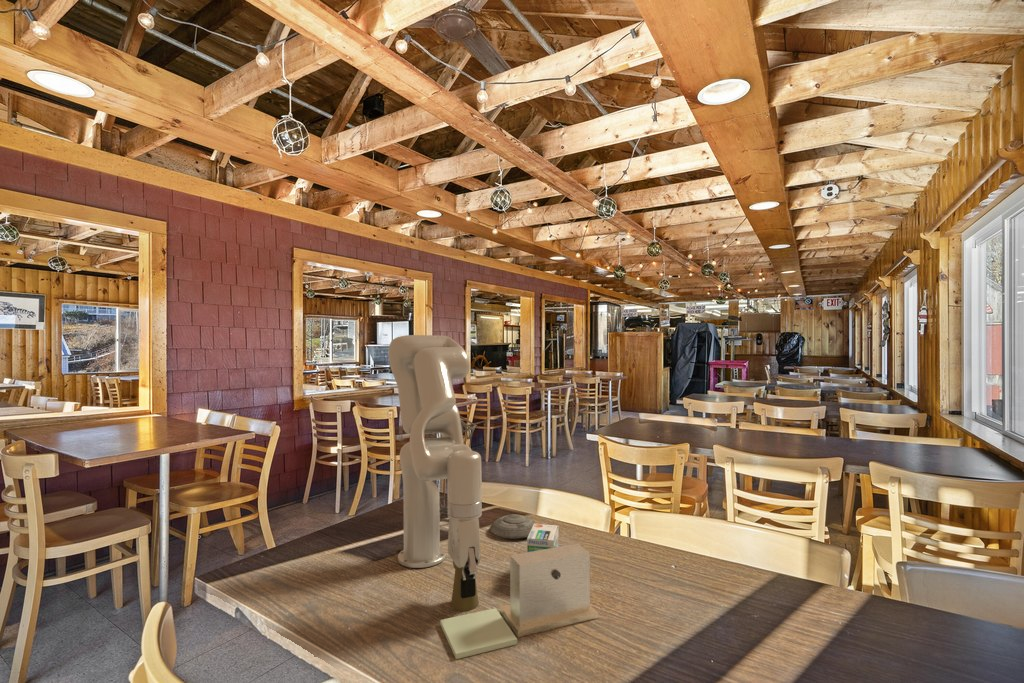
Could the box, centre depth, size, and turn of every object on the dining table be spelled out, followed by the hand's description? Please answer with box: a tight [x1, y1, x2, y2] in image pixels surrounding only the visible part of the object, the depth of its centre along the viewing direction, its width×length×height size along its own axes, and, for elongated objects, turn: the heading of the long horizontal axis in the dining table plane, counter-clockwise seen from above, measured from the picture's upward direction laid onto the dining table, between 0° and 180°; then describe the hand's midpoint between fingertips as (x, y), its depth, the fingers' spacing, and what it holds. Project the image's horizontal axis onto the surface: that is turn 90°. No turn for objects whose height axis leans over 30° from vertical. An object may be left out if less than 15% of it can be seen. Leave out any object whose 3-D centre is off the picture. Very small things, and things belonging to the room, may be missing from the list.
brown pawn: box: [450, 561, 479, 612], centre depth 109 cm, size 6×6×11 cm
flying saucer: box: [489, 513, 537, 540], centre depth 151 cm, size 15×15×6 cm
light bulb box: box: [526, 523, 560, 552], centre depth 123 cm, size 11×7×11 cm, turn 168°
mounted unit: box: [499, 543, 599, 638], centre depth 104 cm, size 10×18×13 cm, turn 112°
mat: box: [439, 607, 518, 660], centre depth 97 cm, size 12×12×1 cm
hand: (465, 591), depth 109 cm, fingers closed on brown pawn, 3 cm apart
